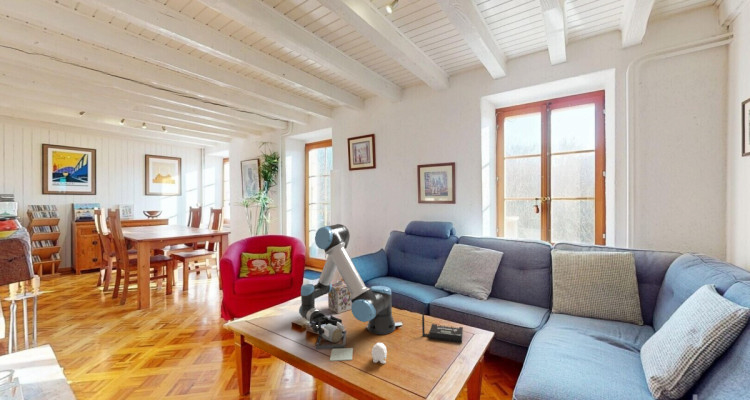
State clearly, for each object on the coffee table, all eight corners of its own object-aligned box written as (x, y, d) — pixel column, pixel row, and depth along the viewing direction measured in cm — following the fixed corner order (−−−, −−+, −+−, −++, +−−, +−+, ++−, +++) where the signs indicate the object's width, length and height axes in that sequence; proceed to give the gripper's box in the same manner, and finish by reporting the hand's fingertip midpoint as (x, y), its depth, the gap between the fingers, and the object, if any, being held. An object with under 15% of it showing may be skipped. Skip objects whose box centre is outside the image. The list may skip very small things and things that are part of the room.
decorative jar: (343, 304, 212) (342, 277, 211) (353, 309, 203) (352, 281, 202) (327, 309, 204) (326, 281, 204) (337, 314, 195) (336, 285, 195)
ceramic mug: (333, 345, 155) (332, 330, 155) (321, 341, 160) (321, 326, 160) (347, 338, 163) (347, 323, 163) (336, 333, 168) (336, 319, 168)
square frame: (346, 333, 169) (346, 330, 169) (344, 348, 153) (344, 345, 153) (320, 334, 168) (320, 331, 168) (315, 349, 152) (315, 346, 152)
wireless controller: (463, 333, 167) (462, 301, 166) (461, 345, 153) (461, 310, 153) (425, 328, 173) (424, 297, 172) (421, 340, 160) (420, 307, 159)
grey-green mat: (352, 348, 152) (352, 348, 152) (352, 360, 142) (352, 359, 142) (332, 349, 151) (332, 348, 151) (329, 360, 141) (329, 360, 141)
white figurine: (370, 345, 137) (376, 335, 149) (370, 365, 137) (376, 353, 148) (384, 346, 136) (389, 336, 147) (384, 366, 135) (389, 355, 147)
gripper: (332, 318, 181) (354, 332, 163) (298, 329, 168) (317, 345, 150) (332, 306, 181) (353, 318, 163) (297, 315, 168) (316, 329, 150)
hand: (336, 331), depth 156 cm, fingers closed on ceramic mug, 8 cm apart
